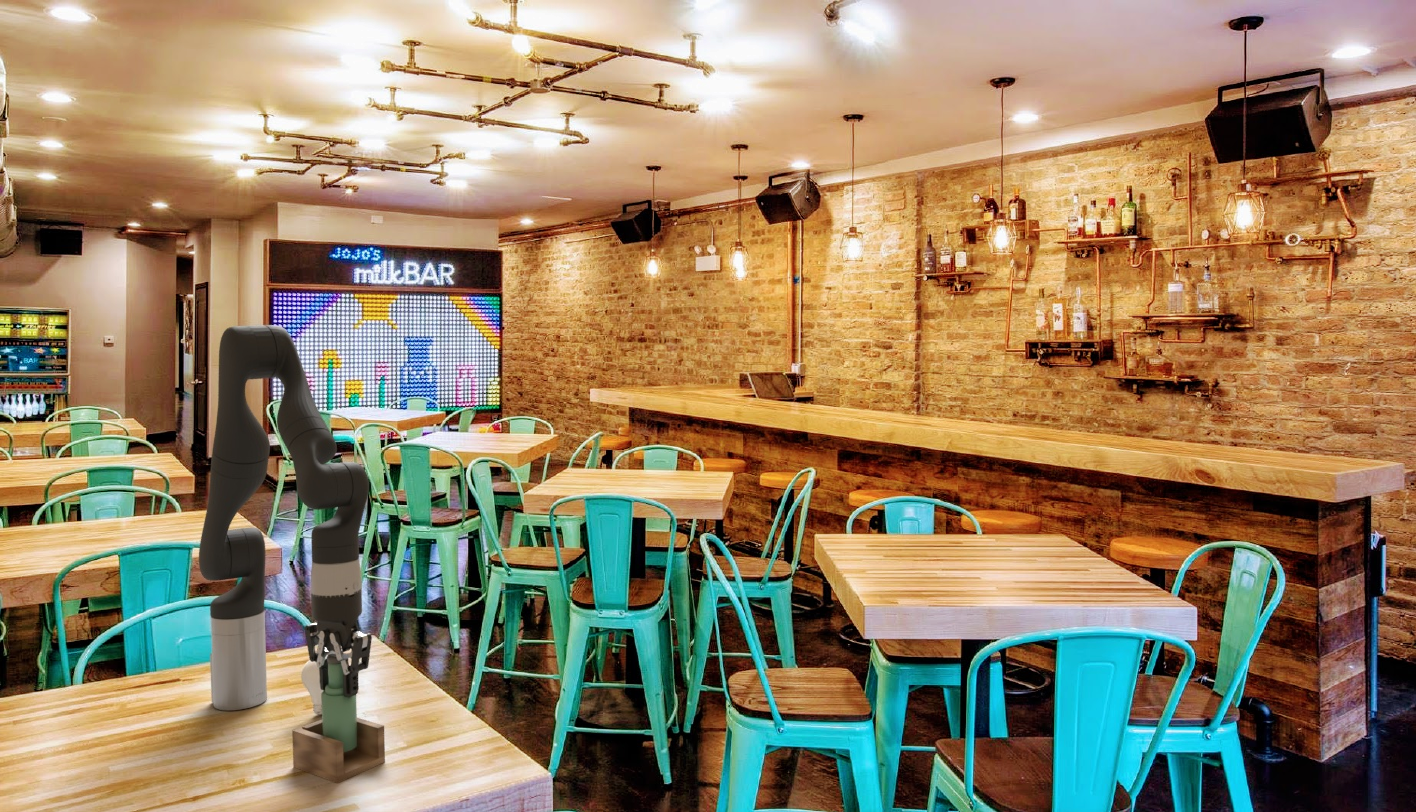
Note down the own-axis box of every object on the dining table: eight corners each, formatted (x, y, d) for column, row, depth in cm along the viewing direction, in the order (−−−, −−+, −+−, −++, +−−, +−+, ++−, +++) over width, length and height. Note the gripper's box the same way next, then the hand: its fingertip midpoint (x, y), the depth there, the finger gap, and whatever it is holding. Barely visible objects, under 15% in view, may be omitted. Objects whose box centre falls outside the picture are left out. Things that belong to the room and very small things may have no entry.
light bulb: (327, 723, 172) (325, 663, 171) (294, 720, 173) (292, 660, 173) (348, 710, 178) (347, 651, 178) (316, 707, 180) (315, 649, 179)
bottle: (315, 749, 153) (313, 658, 152) (343, 738, 158) (341, 649, 157) (336, 756, 150) (334, 663, 150) (364, 744, 155) (361, 654, 154)
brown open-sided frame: (293, 767, 154) (292, 730, 153) (341, 747, 161) (340, 712, 161) (337, 783, 148) (336, 745, 147) (384, 762, 155) (384, 725, 155)
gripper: (287, 587, 153) (290, 691, 154) (345, 599, 146) (348, 708, 147) (328, 577, 160) (330, 678, 161) (385, 588, 152) (388, 693, 153)
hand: (339, 692), depth 154 cm, fingers closed on bottle, 5 cm apart
